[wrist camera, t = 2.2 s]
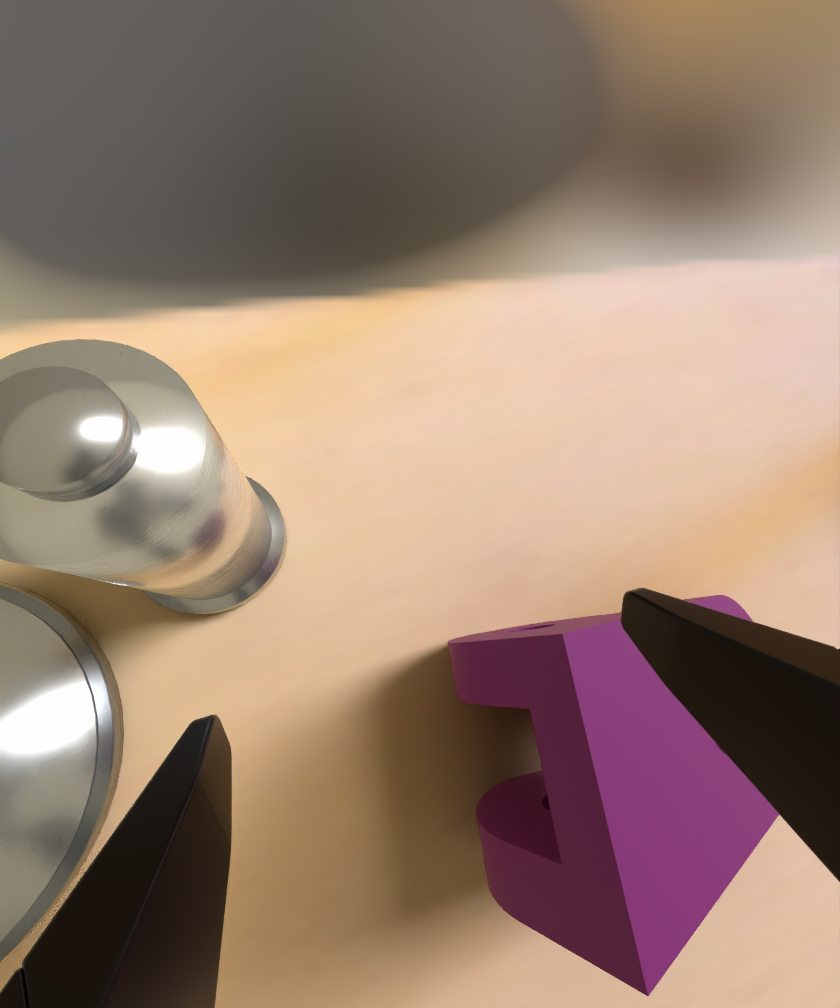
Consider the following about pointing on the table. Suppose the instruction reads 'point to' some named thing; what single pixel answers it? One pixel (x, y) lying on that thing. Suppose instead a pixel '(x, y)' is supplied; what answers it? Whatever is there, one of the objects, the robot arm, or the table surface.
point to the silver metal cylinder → (128, 480)
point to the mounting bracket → (607, 795)
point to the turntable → (50, 755)
